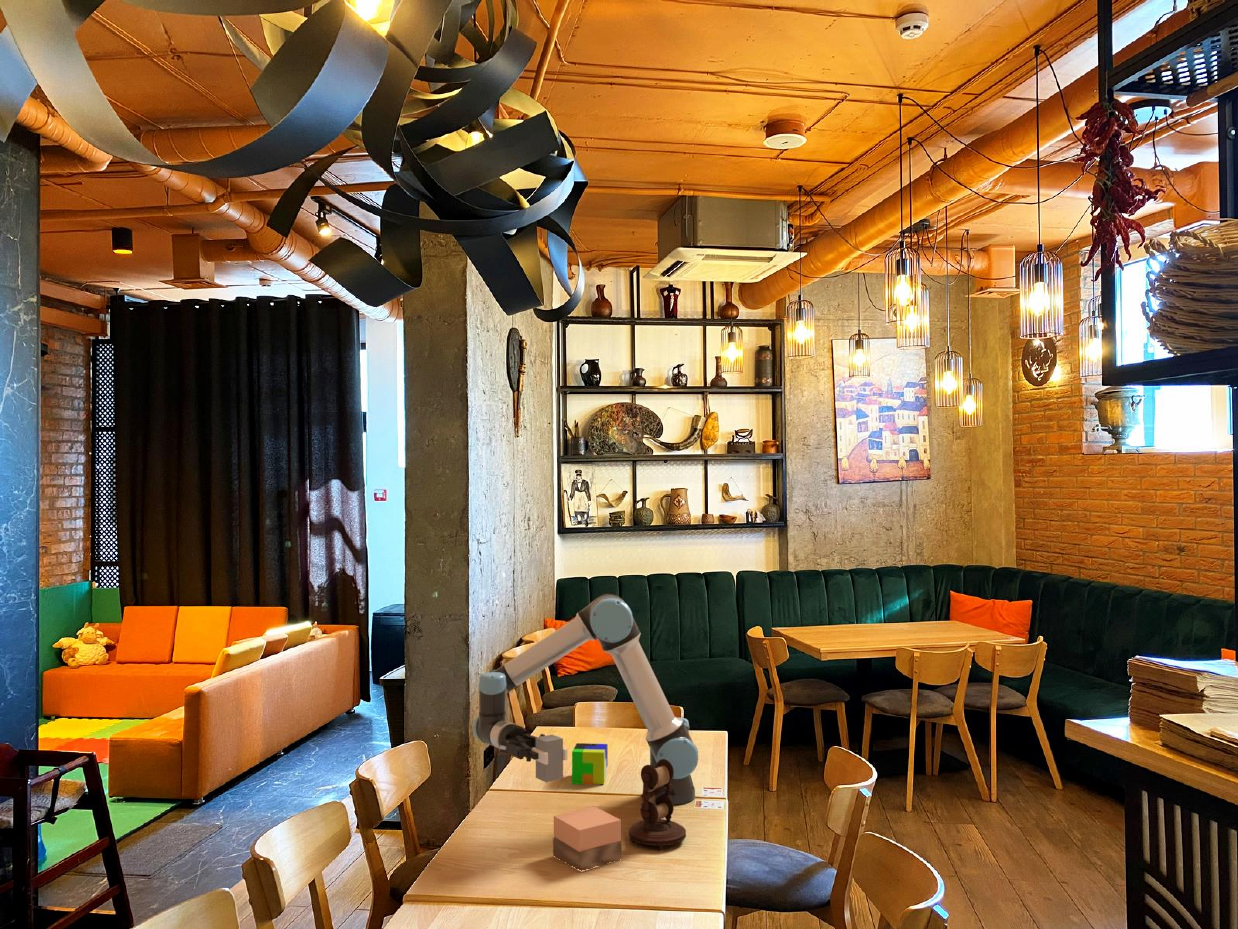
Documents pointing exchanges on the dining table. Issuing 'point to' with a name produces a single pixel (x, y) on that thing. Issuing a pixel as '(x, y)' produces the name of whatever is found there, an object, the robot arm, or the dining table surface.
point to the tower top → (587, 828)
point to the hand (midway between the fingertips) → (556, 756)
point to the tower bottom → (586, 854)
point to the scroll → (657, 809)
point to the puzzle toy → (589, 763)
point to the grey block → (550, 758)
